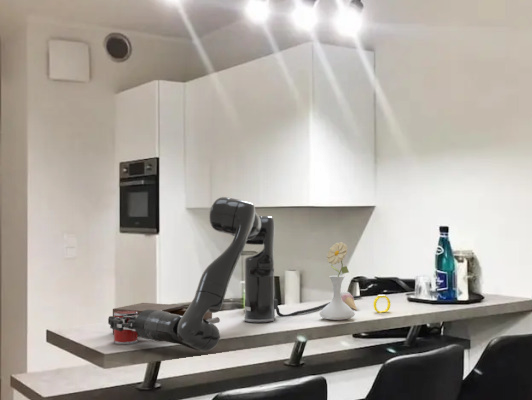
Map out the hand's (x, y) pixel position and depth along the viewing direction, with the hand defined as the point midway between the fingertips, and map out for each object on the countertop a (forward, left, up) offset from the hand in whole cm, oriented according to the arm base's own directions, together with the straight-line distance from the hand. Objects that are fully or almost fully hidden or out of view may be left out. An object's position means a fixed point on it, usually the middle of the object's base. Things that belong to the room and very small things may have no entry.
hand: (120, 318), depth 191 cm
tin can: (+1, +2, -6) cm, 6 cm away
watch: (-76, +48, -6) cm, 90 cm away
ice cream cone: (-83, +34, -6) cm, 90 cm away
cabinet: (-14, -2, -6) cm, 16 cm away
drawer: (-14, +11, -5) cm, 19 cm away
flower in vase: (-56, +40, -6) cm, 69 cm away
